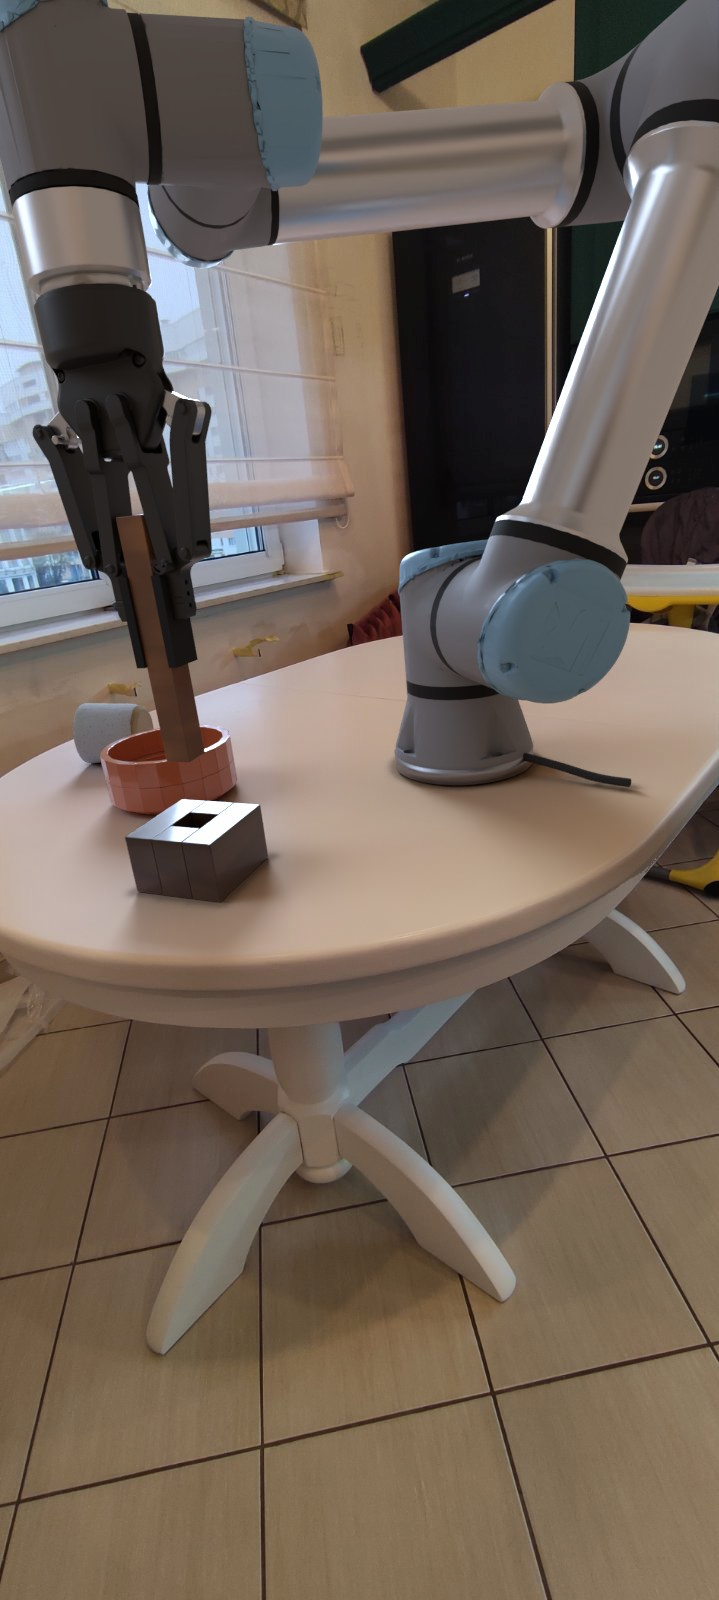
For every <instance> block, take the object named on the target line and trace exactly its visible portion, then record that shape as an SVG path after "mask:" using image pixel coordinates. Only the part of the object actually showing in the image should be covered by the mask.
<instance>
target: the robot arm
mask: <svg viewBox="0 0 719 1600" xmlns="http://www.w3.org/2000/svg"><path fill="white" fill-rule="evenodd" d="M316 55H317V54H316V53H315V50H314V48H313V44H312V43H311V41H310V39H309V38H308V36H307V35H306V34H305V33H304V32H303V31H302V30H300V29H298V28H297V27H294V26H287V25H281V24H276V23H269V22H264V21H258V20H255V19H254V17H253V16H245V19H244V18H228V17H211V16H193V15H177V14H176V15H175V14H159V13H158V14H157V13H142V12H141V13H138V12H127V10H126V9H124V8H112V7H109V3H108V0H0V163H1V167H2V171H3V176H4V180H5V184H6V188H7V192H8V197H9V201H10V205H11V209H12V210H11V211H12V215H13V216H12V217H13V220H14V225H15V231H16V234H17V239H18V244H19V248H20V253H21V258H22V261H23V262H22V263H23V267H24V271H25V277H26V281H27V286H28V287H29V289H30V290H31V291H33V292H34V293H35V294H37V295H38V297H37V299H36V302H35V303H34V305H33V310H34V314H35V320H36V323H37V327H38V331H39V336H40V337H39V338H40V341H41V345H42V350H43V354H44V358H45V361H46V363H47V365H48V366H49V367H50V368H51V370H52V372H53V373H54V374H55V377H56V379H57V383H58V384H57V385H58V391H57V399H56V404H57V409H58V412H56V414H55V415H54V416H53V417H52V418H51V419H50V421H49V422H48V423H47V424H39V423H38V424H35V425H34V426H33V427H32V437H33V439H34V441H35V443H36V444H37V446H38V448H39V449H40V450H41V452H42V453H43V455H44V457H45V458H46V460H47V461H48V464H49V466H50V470H51V474H52V476H53V479H54V483H55V486H56V488H57V491H58V494H59V497H60V500H61V503H62V506H63V509H64V512H65V516H66V519H67V521H68V524H69V527H70V530H71V534H72V536H73V539H74V542H75V545H76V549H77V551H78V554H79V557H80V560H81V563H82V565H83V567H84V569H86V570H89V571H92V570H93V571H94V570H95V571H97V572H101V573H103V574H105V575H106V576H107V577H108V578H109V580H110V583H111V587H112V592H113V597H114V601H115V606H116V610H117V611H116V612H117V614H118V617H119V619H120V621H121V623H126V625H127V629H128V634H129V639H130V643H131V647H132V652H133V653H132V654H133V657H134V662H135V667H136V669H147V664H146V659H145V655H144V650H143V645H142V640H141V636H140V631H139V626H138V621H137V616H136V612H135V607H134V602H133V597H132V593H131V588H130V583H129V578H128V574H127V569H126V565H125V560H124V555H123V550H122V546H121V541H120V536H119V531H118V527H117V522H116V517H123V516H132V515H133V507H132V499H131V491H130V483H129V482H130V481H129V474H130V473H131V474H132V478H133V481H134V485H135V488H136V492H137V495H138V499H139V502H140V505H141V509H142V513H143V514H144V517H145V520H146V524H147V527H148V531H149V534H150V538H151V541H152V545H153V548H154V552H155V556H156V559H157V563H158V566H155V567H152V568H153V571H154V572H155V573H157V574H159V575H153V576H151V581H152V586H153V591H154V596H155V601H156V606H157V611H158V616H159V621H160V626H161V631H162V636H163V641H164V646H165V651H166V656H167V661H168V666H169V668H178V667H180V666H183V665H185V664H188V665H189V664H190V663H193V662H195V661H198V660H199V659H198V653H197V648H196V643H195V636H194V632H193V625H192V621H191V618H192V617H195V616H196V615H197V603H196V596H195V591H194V587H193V586H194V585H193V579H192V575H191V574H192V573H191V572H192V568H193V567H194V565H196V564H198V563H199V562H201V561H203V560H205V559H209V558H210V557H211V556H212V553H213V545H212V529H211V513H210V497H209V479H208V462H207V461H208V460H207V446H206V444H207V443H206V441H207V436H208V432H209V428H210V423H211V420H212V419H211V418H212V412H213V411H212V407H211V405H210V403H209V402H207V401H204V400H198V399H193V398H188V397H186V396H185V395H182V394H181V393H178V392H175V389H174V386H173V383H172V381H171V379H170V378H169V377H168V375H167V373H166V371H165V368H164V364H163V363H164V362H163V361H164V359H165V357H166V356H165V355H166V353H165V346H164V340H163V334H162V328H161V322H160V316H159V310H158V304H157V301H156V300H155V299H154V298H153V297H152V295H151V294H150V293H149V292H147V291H148V290H149V289H150V287H151V286H152V283H153V280H152V279H153V278H152V273H151V267H150V262H149V261H150V260H149V256H148V249H147V243H146V239H145V234H144V226H143V221H142V216H141V209H140V202H139V197H138V193H137V186H136V184H141V185H142V184H145V185H146V186H147V191H146V196H147V202H148V215H149V221H150V224H151V226H152V229H153V231H154V234H155V236H156V238H157V239H158V241H159V243H160V244H161V246H162V247H163V249H164V250H165V251H166V252H167V253H168V254H169V255H170V256H171V257H172V258H173V259H174V260H176V261H178V262H179V263H181V264H183V265H185V266H188V267H189V268H194V269H209V268H213V267H216V266H217V265H219V264H220V263H222V262H223V261H224V260H227V259H228V258H230V256H232V255H233V254H234V251H240V250H241V251H242V250H249V249H255V248H257V249H258V248H263V247H268V246H277V245H285V244H286V245H287V244H296V243H303V242H315V241H323V240H330V239H340V238H348V237H349V238H350V237H357V236H366V235H367V236H368V235H375V234H377V235H378V234H385V233H394V232H401V231H412V230H420V229H430V228H437V227H447V226H455V225H464V224H474V223H475V224H476V223H482V222H484V223H485V222H491V221H492V222H493V221H500V220H502V221H503V220H510V219H518V218H519V219H520V218H528V217H530V219H531V221H532V222H533V223H534V224H535V225H536V226H538V227H539V228H541V229H556V228H563V227H571V226H583V225H595V224H607V223H615V222H622V221H623V224H622V227H621V228H620V229H621V230H620V232H619V235H618V237H617V240H616V243H615V245H614V248H613V250H612V254H611V257H610V259H609V262H608V264H607V268H606V270H605V272H604V275H603V277H602V281H601V283H600V286H599V289H598V292H597V295H596V298H595V300H594V303H593V306H592V309H591V311H590V314H589V317H588V319H587V322H586V325H585V327H584V331H583V332H582V336H581V337H580V341H579V344H578V346H577V349H576V353H575V355H574V358H573V361H572V363H571V365H570V368H569V371H568V373H567V377H566V379H565V381H564V385H563V387H562V390H561V393H560V396H559V399H558V401H557V404H556V406H555V410H554V412H553V415H552V418H551V421H550V422H549V423H550V424H549V425H548V428H547V431H546V434H545V437H544V440H543V442H542V445H541V447H540V450H539V453H538V456H537V458H536V461H535V464H534V467H533V470H532V472H531V475H530V477H529V481H528V483H527V486H526V488H525V491H524V494H523V496H522V500H521V502H520V503H519V504H518V505H517V506H516V507H514V508H512V509H510V510H509V511H506V512H505V513H503V514H501V515H499V516H497V517H496V519H495V521H494V524H493V527H492V529H491V532H490V534H489V537H488V539H481V540H473V541H467V542H459V543H452V544H447V545H442V546H437V547H429V548H424V549H420V550H416V551H413V552H410V553H409V554H407V555H405V556H404V557H403V558H402V560H401V562H400V564H399V581H398V582H399V584H398V588H397V593H398V596H399V602H400V616H401V617H400V618H401V631H402V642H403V643H402V644H403V645H402V646H403V658H404V670H405V671H404V672H405V683H406V702H405V707H404V710H403V715H402V720H401V722H400V726H399V730H398V731H399V732H398V735H397V739H396V742H395V747H394V748H395V749H394V761H395V762H394V763H395V769H396V770H397V772H399V773H400V774H401V775H403V776H405V777H406V778H409V779H411V780H414V781H416V782H417V781H418V782H421V783H425V784H433V785H443V786H470V785H480V784H487V783H493V782H499V781H502V780H506V779H509V778H512V777H515V776H517V775H519V774H521V773H524V772H525V771H527V770H528V769H529V768H530V767H531V766H532V764H535V765H537V766H542V767H545V768H550V769H552V770H557V771H559V772H563V773H566V774H568V775H572V776H575V777H578V778H582V779H585V780H588V781H592V782H595V783H600V784H605V785H612V786H618V787H624V788H625V787H627V788H630V787H631V786H632V778H630V777H622V776H615V775H607V774H603V773H597V772H594V771H591V770H587V769H584V768H581V767H580V768H579V767H576V766H574V765H571V764H568V763H565V762H561V761H557V760H553V759H551V758H547V757H543V756H540V755H536V754H534V743H533V739H532V736H531V732H530V729H529V726H528V724H527V722H526V719H525V716H524V712H523V709H522V707H521V703H520V701H527V702H530V703H535V704H558V703H562V702H566V701H569V700H572V699H574V698H576V697H577V696H579V695H582V694H583V693H586V692H588V691H589V690H591V689H592V688H594V687H595V686H597V684H598V683H599V682H600V681H602V680H603V679H604V678H605V676H607V674H608V673H609V672H610V671H611V669H613V667H614V665H615V664H616V662H617V661H618V660H619V657H620V656H621V654H622V652H623V650H624V647H625V645H626V642H627V639H628V635H629V631H630V626H631V625H630V624H631V612H630V611H629V610H628V609H627V605H626V604H627V603H628V601H629V597H628V595H627V592H626V589H625V587H624V585H623V583H622V582H621V580H622V578H623V575H624V572H625V570H626V567H627V565H628V561H629V559H628V558H629V557H628V555H627V553H626V551H625V548H624V546H623V543H622V542H621V539H620V533H621V531H622V528H623V526H624V523H625V521H626V518H627V516H628V514H629V510H630V509H631V506H632V503H633V501H634V498H635V496H636V493H637V491H638V488H639V485H640V483H641V481H642V478H643V476H644V473H645V471H646V468H647V466H648V463H649V461H650V459H651V456H652V453H653V450H654V448H655V446H656V444H657V441H658V438H659V436H660V433H661V431H662V429H663V426H664V423H665V420H666V418H667V415H668V413H669V410H670V408H671V406H672V404H673V401H674V398H675V395H676V394H677V391H678V388H679V386H680V384H681V380H682V378H683V376H684V373H685V371H686V368H687V366H688V363H689V361H690V358H691V356H692V353H693V351H694V348H695V345H696V344H697V341H698V338H699V336H700V333H701V332H702V329H703V326H704V323H705V321H706V319H707V316H708V313H709V311H710V310H711V309H710V308H711V306H712V304H713V302H714V298H715V296H716V293H717V290H718V289H719V0H685V1H684V3H682V4H681V5H680V6H679V7H678V8H677V9H676V10H675V11H674V12H672V13H671V14H670V15H669V16H668V17H667V18H665V20H663V21H662V22H661V23H660V24H659V25H658V26H657V27H656V28H654V29H653V30H652V31H651V32H650V33H648V35H647V36H646V37H645V38H644V39H642V40H641V41H640V42H639V43H638V44H637V45H636V46H634V48H632V49H631V50H629V51H628V53H626V54H624V56H622V57H621V58H619V59H618V60H615V62H613V63H612V64H610V65H609V66H608V67H605V68H604V69H602V70H600V71H598V72H596V73H594V74H593V75H590V76H588V77H585V78H582V79H578V80H573V81H560V82H559V81H558V82H554V83H552V84H550V85H549V86H548V87H546V88H545V89H544V90H543V92H541V94H540V96H539V97H538V99H537V100H529V101H528V100H527V101H518V102H517V101H515V102H514V101H513V102H503V103H490V104H477V105H475V104H473V105H464V106H463V105H462V106H449V107H438V108H437V107H435V108H423V109H422V108H421V109H409V110H398V111H381V112H370V113H358V114H343V115H331V116H324V113H323V112H324V110H323V90H322V81H321V73H320V68H319V67H320V66H319V63H318V59H317V56H316ZM166 425H167V426H168V427H169V429H170V430H169V440H168V441H169V453H168V449H167V445H166V443H165V438H164V434H163V433H164V431H165V428H166ZM80 446H81V447H80ZM81 448H82V449H81ZM169 456H170V457H169ZM169 465H170V469H171V471H169V469H168V468H169ZM170 472H171V475H170Z"/></svg>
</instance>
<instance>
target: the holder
mask: <svg viewBox="0 0 719 1600" xmlns="http://www.w3.org/2000/svg"><path fill="white" fill-rule="evenodd" d="M124 839H125V840H124V841H125V843H126V844H125V845H126V848H127V852H128V857H129V861H130V865H131V870H132V875H133V879H134V883H135V887H136V892H138V893H145V894H153V895H160V896H161V895H162V896H167V897H176V898H184V899H189V900H190V899H191V900H193V899H194V900H200V901H209V902H216V903H221V902H222V901H224V900H225V899H226V898H227V897H228V896H229V895H230V894H231V893H232V892H233V891H235V889H236V888H237V887H238V886H239V885H240V884H242V883H243V882H244V881H245V880H246V879H247V878H248V877H249V876H250V875H251V874H252V873H253V872H254V871H255V870H256V869H257V868H258V867H259V866H260V865H261V864H263V862H265V861H266V860H267V859H268V858H269V853H268V846H267V840H266V832H265V826H264V820H263V813H262V807H261V804H256V803H255V804H254V803H241V802H227V801H216V800H214V801H200V800H186V799H181V800H180V801H178V802H177V803H175V804H174V805H172V806H171V807H169V808H168V809H166V810H165V811H163V812H162V813H160V814H156V815H155V816H154V817H153V818H151V819H150V820H148V821H146V822H144V824H142V825H140V826H139V827H138V828H136V829H135V830H133V831H132V832H130V833H128V834H126V835H125V836H124Z"/></svg>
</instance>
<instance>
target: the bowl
mask: <svg viewBox="0 0 719 1600" xmlns="http://www.w3.org/2000/svg"><path fill="white" fill-rule="evenodd" d="M200 729H201V735H202V740H203V745H204V751H205V753H204V754H203V755H201V756H199V757H198V758H196V759H194V760H193V761H191V762H171V761H167V760H166V755H165V750H164V745H163V741H162V736H161V731H160V727H159V728H154V729H153V730H148V731H144V732H140V733H136V734H133V735H130V736H127V737H124V738H121V739H119V740H117V741H115V742H113V743H111V744H109V745H108V746H106V747H105V748H104V749H103V750H102V751H101V755H100V759H101V767H102V771H103V775H104V779H105V783H106V788H107V792H108V797H109V801H110V803H111V804H112V805H113V806H114V807H115V808H117V809H120V810H123V811H126V812H131V813H135V814H140V815H159V814H160V813H162V812H163V811H165V810H166V809H168V808H169V807H171V806H172V805H174V804H175V803H177V802H178V801H180V800H181V799H186V800H200V801H216V800H217V799H219V798H220V797H222V796H223V795H224V794H226V793H227V792H228V791H230V790H231V789H233V788H234V786H235V785H236V783H237V781H238V775H237V769H236V763H235V758H234V751H233V745H232V740H231V739H232V738H231V735H230V732H229V730H228V729H226V728H223V727H222V726H217V725H211V724H200Z"/></svg>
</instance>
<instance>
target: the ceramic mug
mask: <svg viewBox="0 0 719 1600" xmlns="http://www.w3.org/2000/svg"><path fill="white" fill-rule="evenodd" d="M153 729H155V728H154V722H153V718H152V715H151V713H150V712H149V710H148V709H147V708H146V707H145V706H144V705H140V704H135V703H124V702H123V703H122V702H121V703H111V702H110V703H108V702H107V703H105V702H103V703H102V702H84V703H82V704H80V705H79V706H78V707H77V709H76V711H75V713H74V716H73V722H72V734H73V742H74V746H75V749H76V752H77V754H78V756H79V757H80V759H81V760H82V761H83V762H84V763H87V764H98V763H101V759H100V755H101V751H102V750H103V749H104V748H105V747H106V746H108V745H109V744H111V743H113V742H115V741H117V740H119V739H121V738H124V737H127V736H130V735H133V734H136V733H140V732H144V731H148V730H153ZM101 764H102V763H101Z"/></svg>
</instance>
